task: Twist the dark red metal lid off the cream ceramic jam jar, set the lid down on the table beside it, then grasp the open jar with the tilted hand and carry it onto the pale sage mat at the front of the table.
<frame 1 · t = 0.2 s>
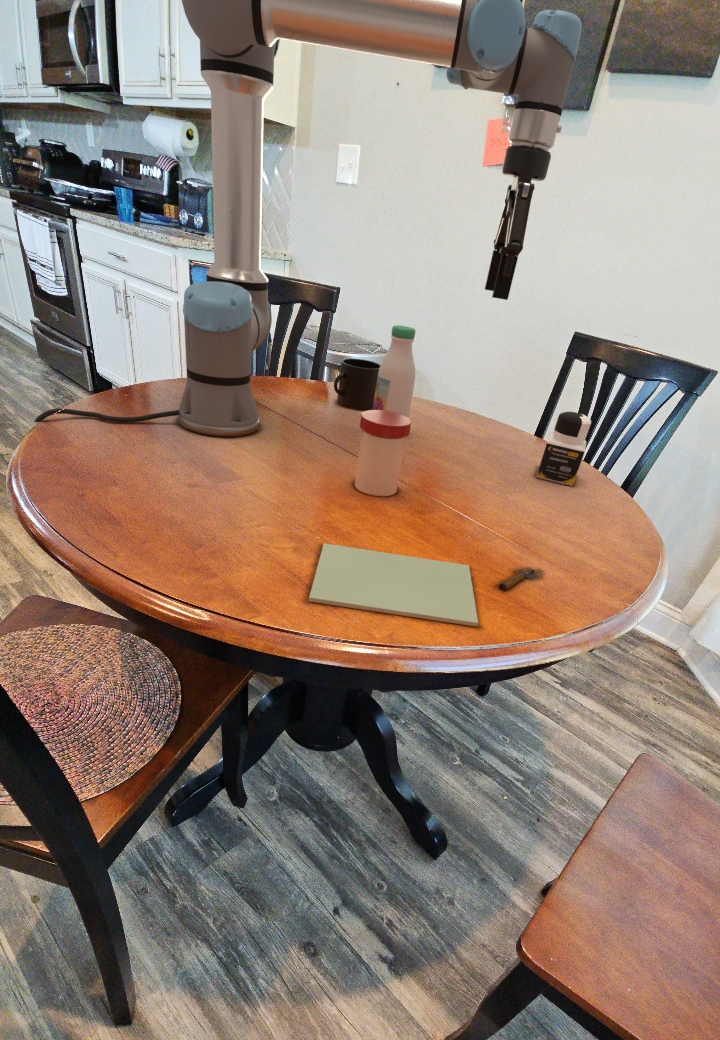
hand: (495, 294, 110), 28 cm above the table, tool pointing down, fingers open, 13 cm apart
medicine bottle: (554, 477, 116), on the table
mug: (352, 405, 139), on the table
lid: (386, 420, 93), point 11 cm above the table, screwed on, not yet turned
can opener: (518, 583, 80), on the table
mat: (394, 584, 74), on the table
jar: (375, 487, 99), on the table
milk bottle: (387, 431, 126), on the table
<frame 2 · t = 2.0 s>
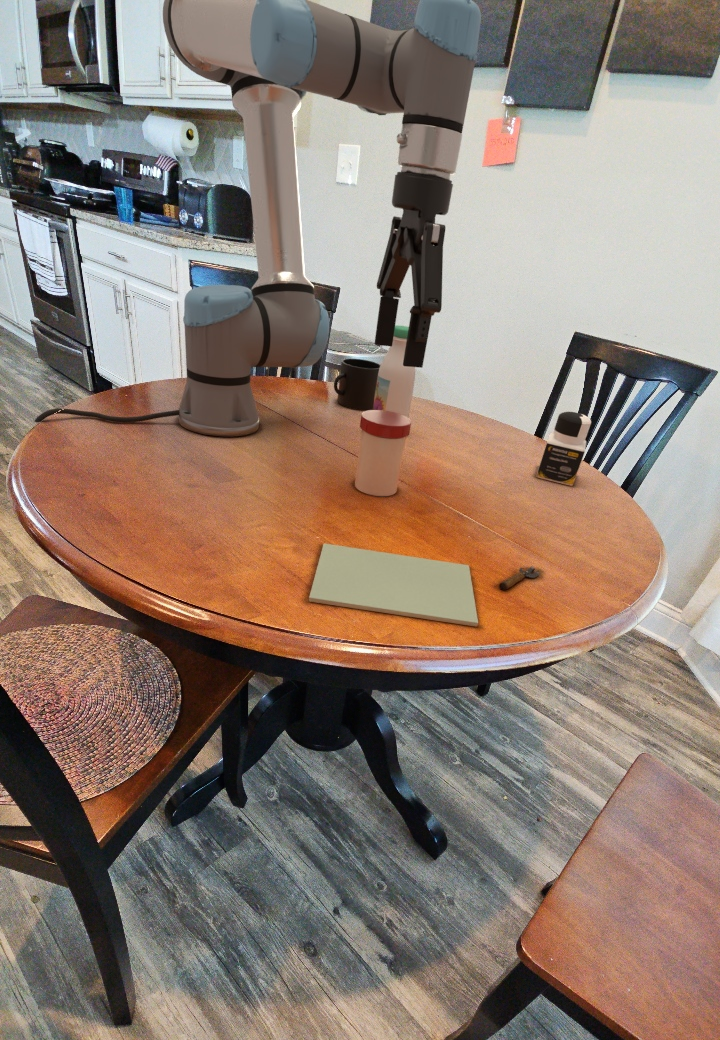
hand: (397, 355, 87), 21 cm above the table, tool pointing down, fingers open, 13 cm apart
nothing on the table moved.
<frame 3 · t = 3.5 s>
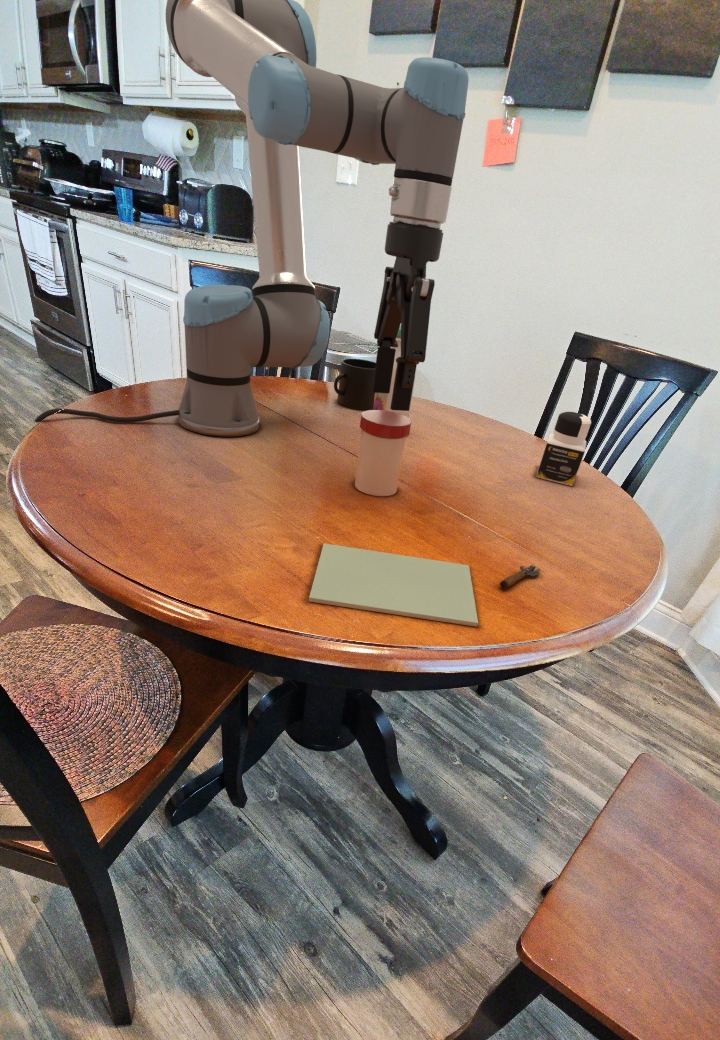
hand: (389, 400, 91), 14 cm above the table, tool pointing down, fingers open, 9 cm apart
nothing on the table moved.
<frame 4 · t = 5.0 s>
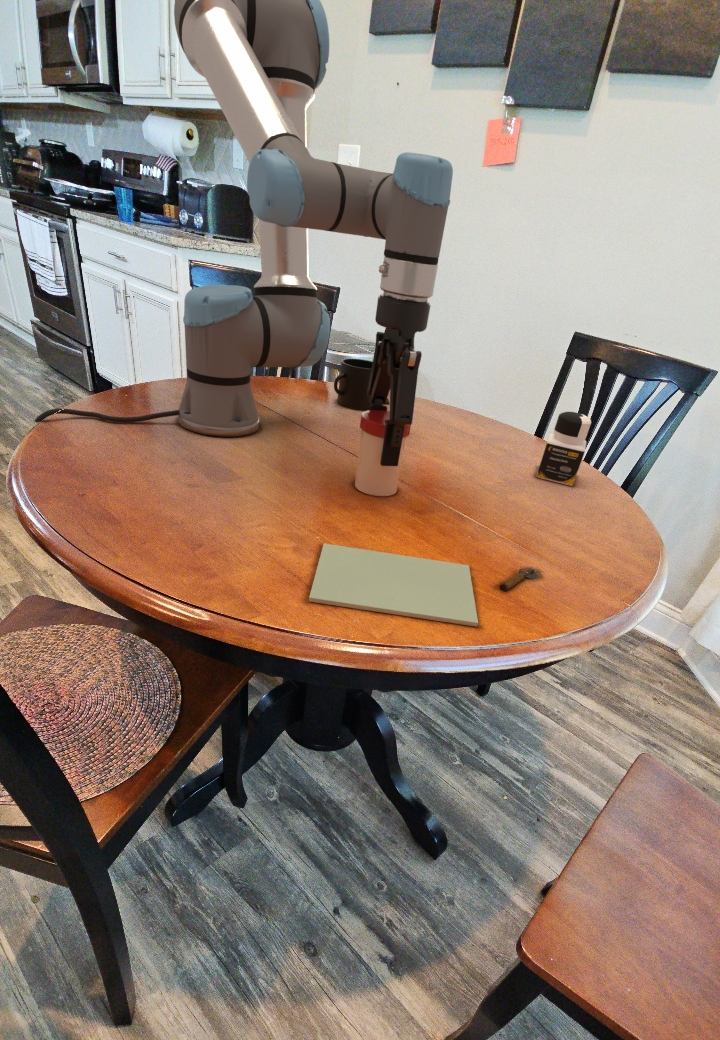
hand: (380, 455, 96), 6 cm above the table, tool pointing down, fingers closed on lid, 8 cm apart
lid: (386, 420, 93), point 11 cm above the table, screwed on, not yet turned, touching gripper
everything else where it was.
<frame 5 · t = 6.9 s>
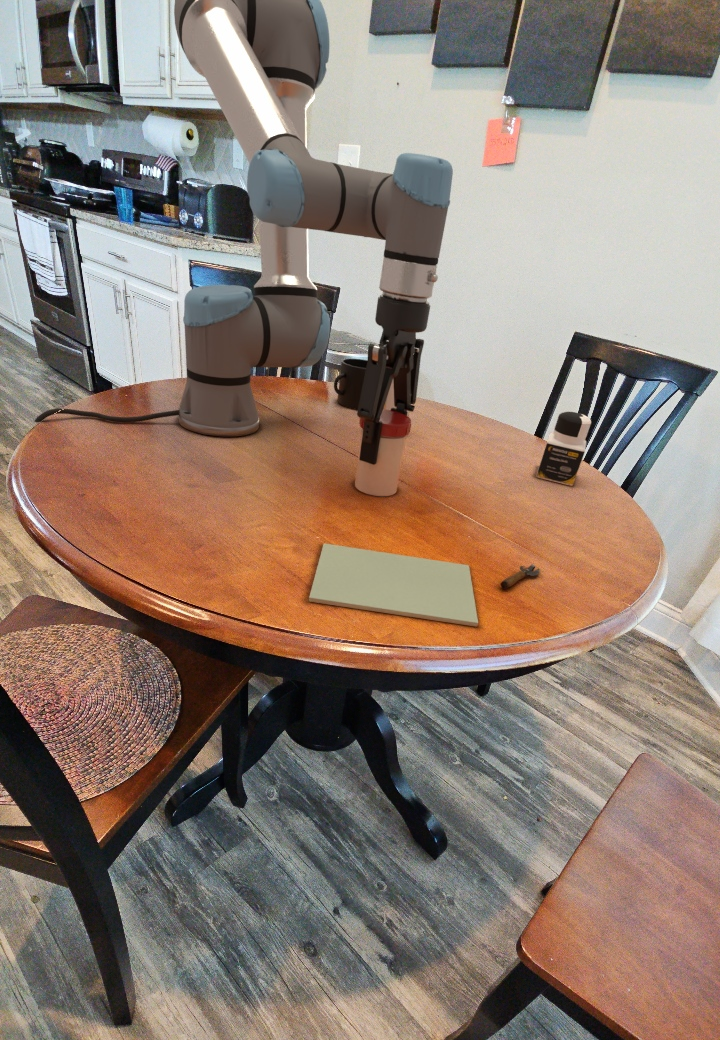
hand: (380, 455, 96), 6 cm above the table, tool pointing down, fingers closed on lid, 8 cm apart
lid: (385, 419, 92), point 11 cm above the table, off its thread, touching gripper
everything else where it was.
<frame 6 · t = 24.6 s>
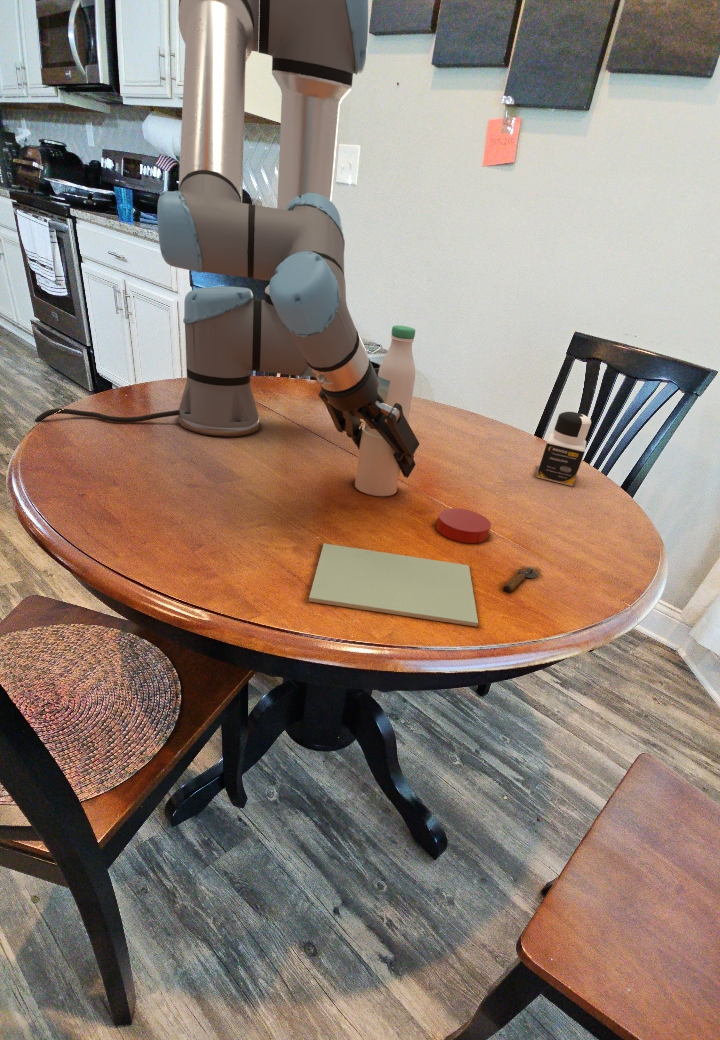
hand: (390, 462, 100), 4 cm above the table, tool tilted 45°, fingers closed on jar, 7 cm apart
lid: (464, 522, 89), point 1 cm above the table, off its thread
jar: (375, 487, 99), on the table, touching gripper
everything else where it was.
when the fingers open (4 cm above the table, at t = 33.9 s): jar stays where it is, resting on mat.
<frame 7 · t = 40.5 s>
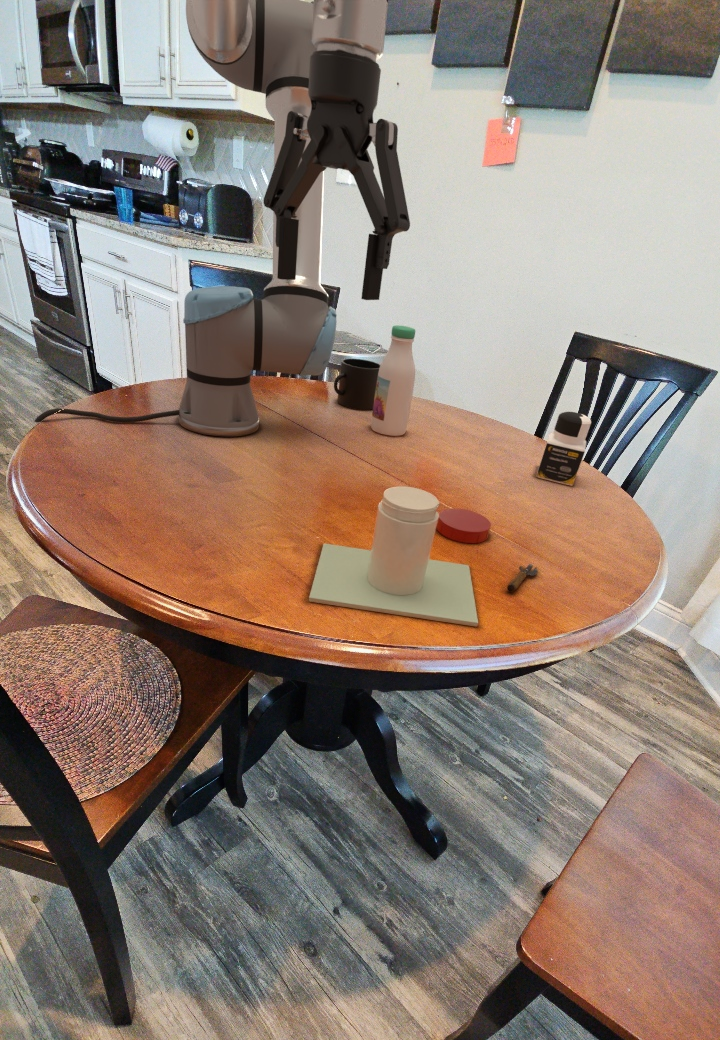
hand: (326, 289, 74), 29 cm above the table, tool pointing down, fingers open, 13 cm apart
jar: (395, 580, 74), point 1 cm above the table, touching mat
everything else where it was.
at the end: lid point 1.5 cm above the table; jar inside the target area on the mat (0.1 cm from its centre), point 0.6 cm above the mat's base; jar tilted 0° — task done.
